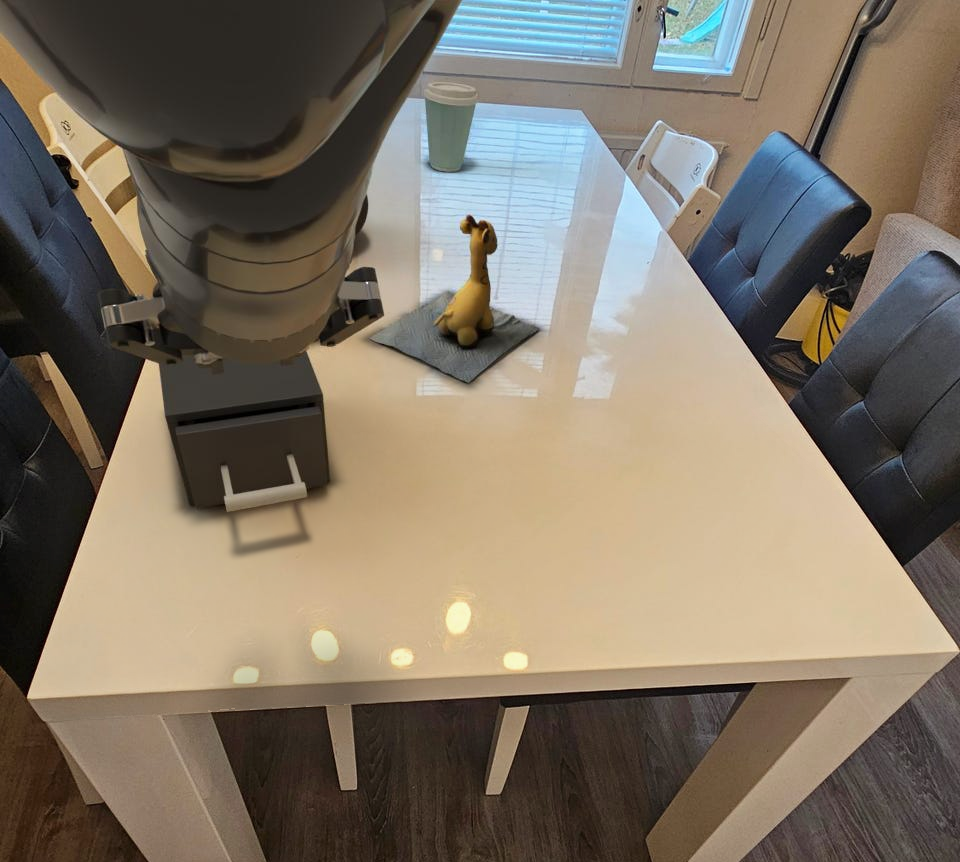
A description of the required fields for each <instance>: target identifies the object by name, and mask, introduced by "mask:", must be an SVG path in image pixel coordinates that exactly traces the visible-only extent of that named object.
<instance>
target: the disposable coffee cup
mask: <svg viewBox="0 0 960 862" xmlns="http://www.w3.org/2000/svg"><path fill="white" fill-rule="evenodd" d="M423 96H424V104H425V105H424V106H425V119H426V132H427V133H426V134H427V144H428V145H427V147H428V159H429V162H430V166H431V167H432V169H434V170H437V171H440V172H445V173H455V172H458V171H461V168H462V167H463V163H464V159H465V154H466V150H467V146H468V142H469V141H468V140H469V137H470V131H471V127H472V124H473V118H474V114H475V110H476V106H477V104H478V102H479V93H477V89H476V88H475V87H473V86H471V85H466V84H463V83H459V82H458V83H457V82H450V81H434V82H429V83H428V84H427V85H426V87H425V89H424V91H423Z"/></svg>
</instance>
